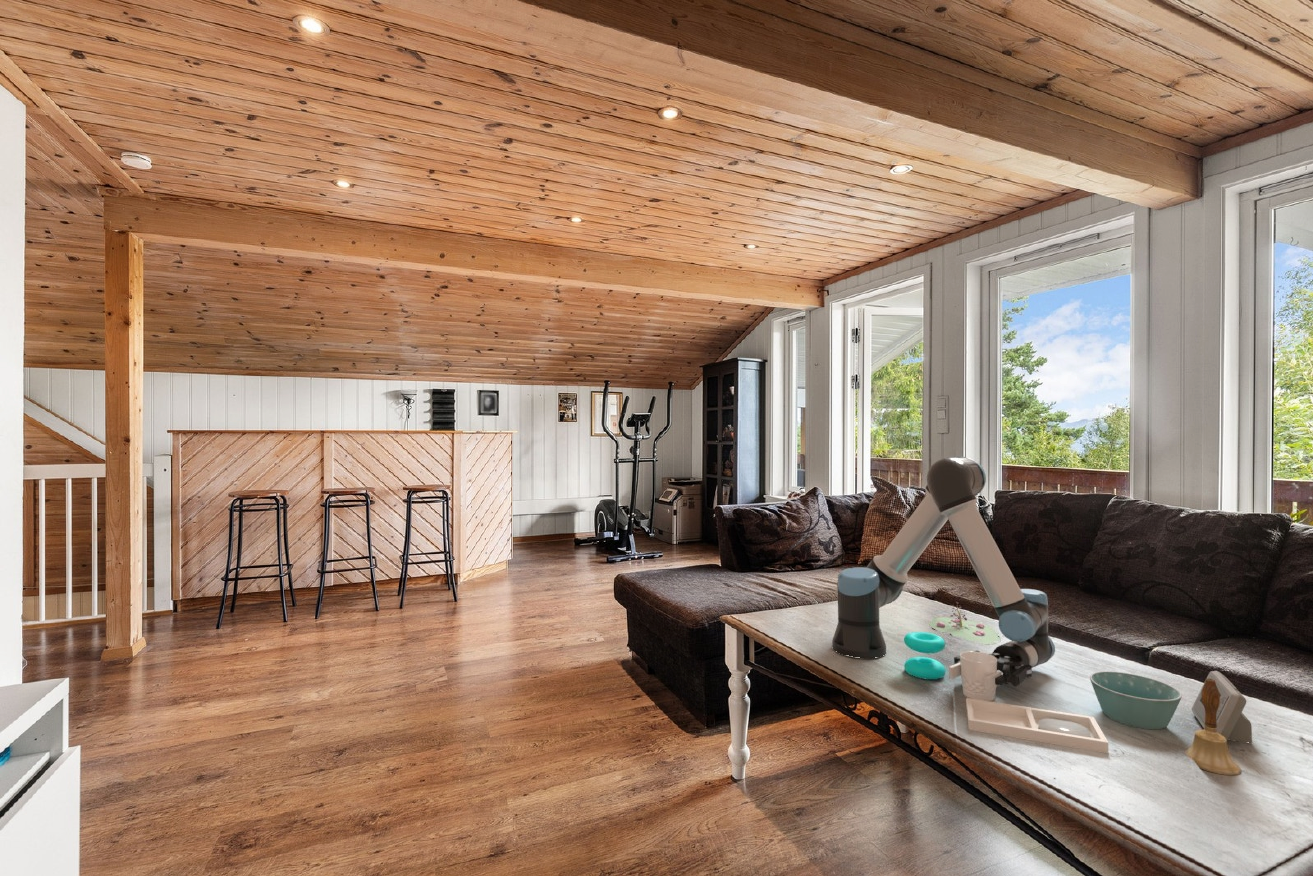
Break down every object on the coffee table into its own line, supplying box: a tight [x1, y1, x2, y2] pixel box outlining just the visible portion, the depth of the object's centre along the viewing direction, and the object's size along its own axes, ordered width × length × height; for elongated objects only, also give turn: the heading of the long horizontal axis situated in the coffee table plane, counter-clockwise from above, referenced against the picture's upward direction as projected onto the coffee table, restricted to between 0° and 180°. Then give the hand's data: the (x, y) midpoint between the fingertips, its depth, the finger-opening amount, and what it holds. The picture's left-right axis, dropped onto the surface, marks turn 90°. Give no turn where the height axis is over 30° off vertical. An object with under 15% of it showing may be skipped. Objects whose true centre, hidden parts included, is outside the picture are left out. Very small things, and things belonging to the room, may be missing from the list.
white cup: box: [959, 651, 998, 702], centre depth 144 cm, size 8×8×10 cm
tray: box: [965, 697, 1110, 754], centre depth 127 cm, size 24×12×3 cm, turn 65°
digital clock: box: [1191, 670, 1253, 744], centre depth 127 cm, size 16×9×11 cm, turn 139°
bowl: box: [1089, 671, 1183, 730], centre depth 131 cm, size 16×16×8 cm
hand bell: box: [1185, 678, 1242, 776], centre depth 114 cm, size 8×8×16 cm
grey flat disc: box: [1038, 718, 1091, 738], centre depth 125 cm, size 9×9×1 cm
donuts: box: [903, 631, 947, 680], centre depth 160 cm, size 10×10×10 cm
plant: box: [929, 601, 1002, 646], centre depth 195 cm, size 25×21×9 cm
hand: (968, 678), depth 141 cm, fingers closed on white cup, 8 cm apart
